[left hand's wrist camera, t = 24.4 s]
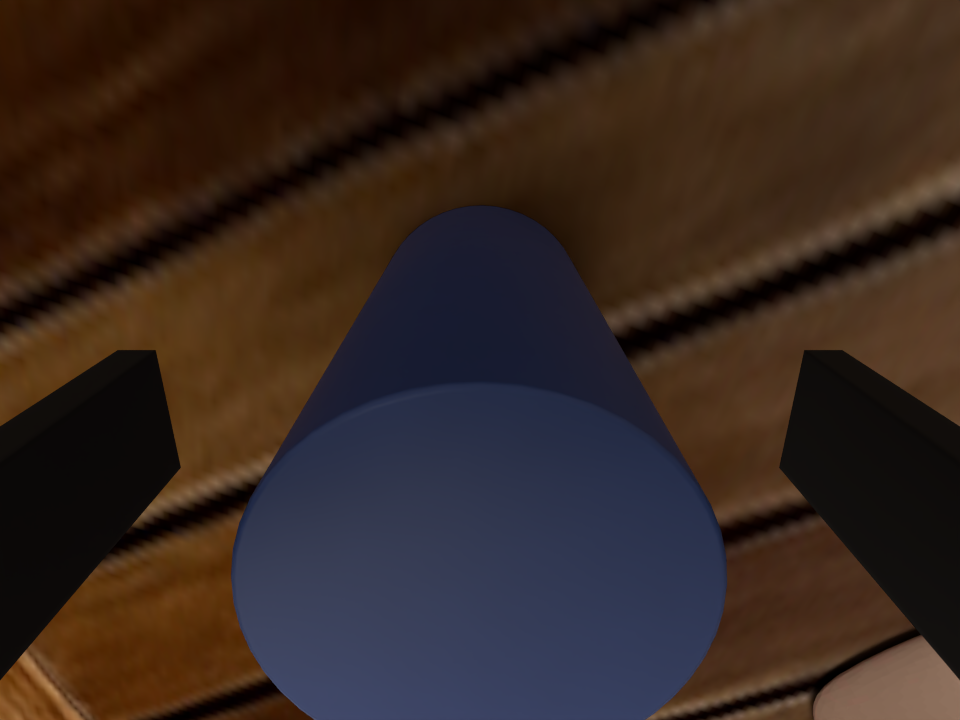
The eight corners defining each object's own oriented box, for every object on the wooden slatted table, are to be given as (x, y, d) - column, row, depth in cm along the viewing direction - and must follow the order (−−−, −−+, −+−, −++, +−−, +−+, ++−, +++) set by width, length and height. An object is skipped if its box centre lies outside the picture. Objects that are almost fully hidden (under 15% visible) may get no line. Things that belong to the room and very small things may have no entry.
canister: (587, 206, 17) (776, 387, 6) (572, 395, 19) (689, 775, 8) (377, 203, 17) (188, 379, 6) (386, 392, 19) (262, 769, 8)
